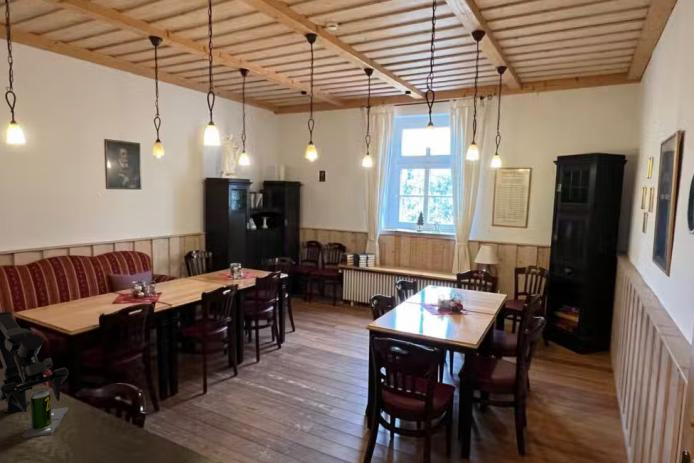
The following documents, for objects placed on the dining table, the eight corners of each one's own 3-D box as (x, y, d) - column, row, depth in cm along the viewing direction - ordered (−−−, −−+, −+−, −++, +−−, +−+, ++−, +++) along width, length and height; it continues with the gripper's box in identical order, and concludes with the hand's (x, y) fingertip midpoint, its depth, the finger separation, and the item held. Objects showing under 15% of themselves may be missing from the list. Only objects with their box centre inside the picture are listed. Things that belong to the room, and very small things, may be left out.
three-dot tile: (33, 424, 143) (33, 422, 143) (60, 421, 145) (60, 419, 145) (22, 437, 135) (22, 435, 135) (51, 434, 137) (51, 431, 137)
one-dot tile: (42, 412, 151) (42, 410, 151) (68, 409, 153) (68, 407, 153) (32, 424, 143) (32, 421, 143) (59, 420, 145) (59, 418, 145)
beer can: (30, 432, 136) (28, 396, 135) (33, 424, 141) (31, 389, 140) (50, 428, 139) (48, 393, 138) (53, 421, 143) (51, 386, 142)
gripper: (-2, 361, 133) (12, 405, 127) (65, 344, 147) (80, 383, 142) (-9, 379, 138) (5, 422, 132) (57, 361, 153) (71, 399, 147)
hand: (42, 405), depth 138 cm, fingers open, 9 cm apart
